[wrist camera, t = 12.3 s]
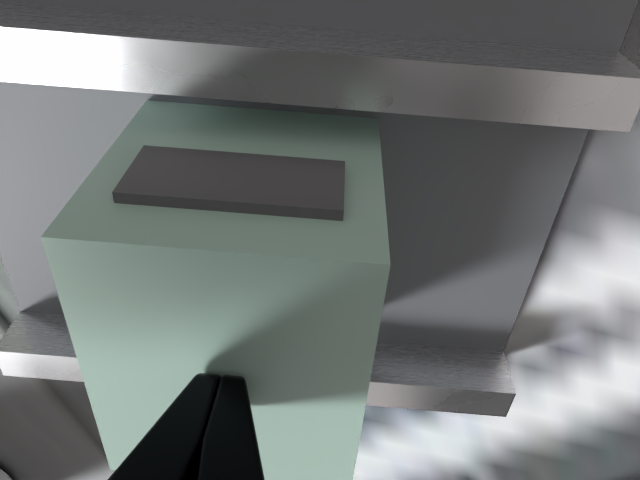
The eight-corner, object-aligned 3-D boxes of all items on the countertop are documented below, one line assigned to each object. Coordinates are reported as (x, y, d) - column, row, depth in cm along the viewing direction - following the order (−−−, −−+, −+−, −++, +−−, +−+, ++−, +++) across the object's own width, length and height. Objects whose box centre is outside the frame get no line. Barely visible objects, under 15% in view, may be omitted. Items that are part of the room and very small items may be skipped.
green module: (379, 109, 12) (392, 253, 8) (351, 318, 15) (350, 489, 11) (145, 91, 12) (37, 225, 8) (173, 304, 15) (110, 470, 11)
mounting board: (644, -50, 10) (698, -28, 9) (478, 396, 18) (490, 451, 16) (-111, -111, 10) (-198, -100, 9) (49, 361, 18) (19, 412, 16)
